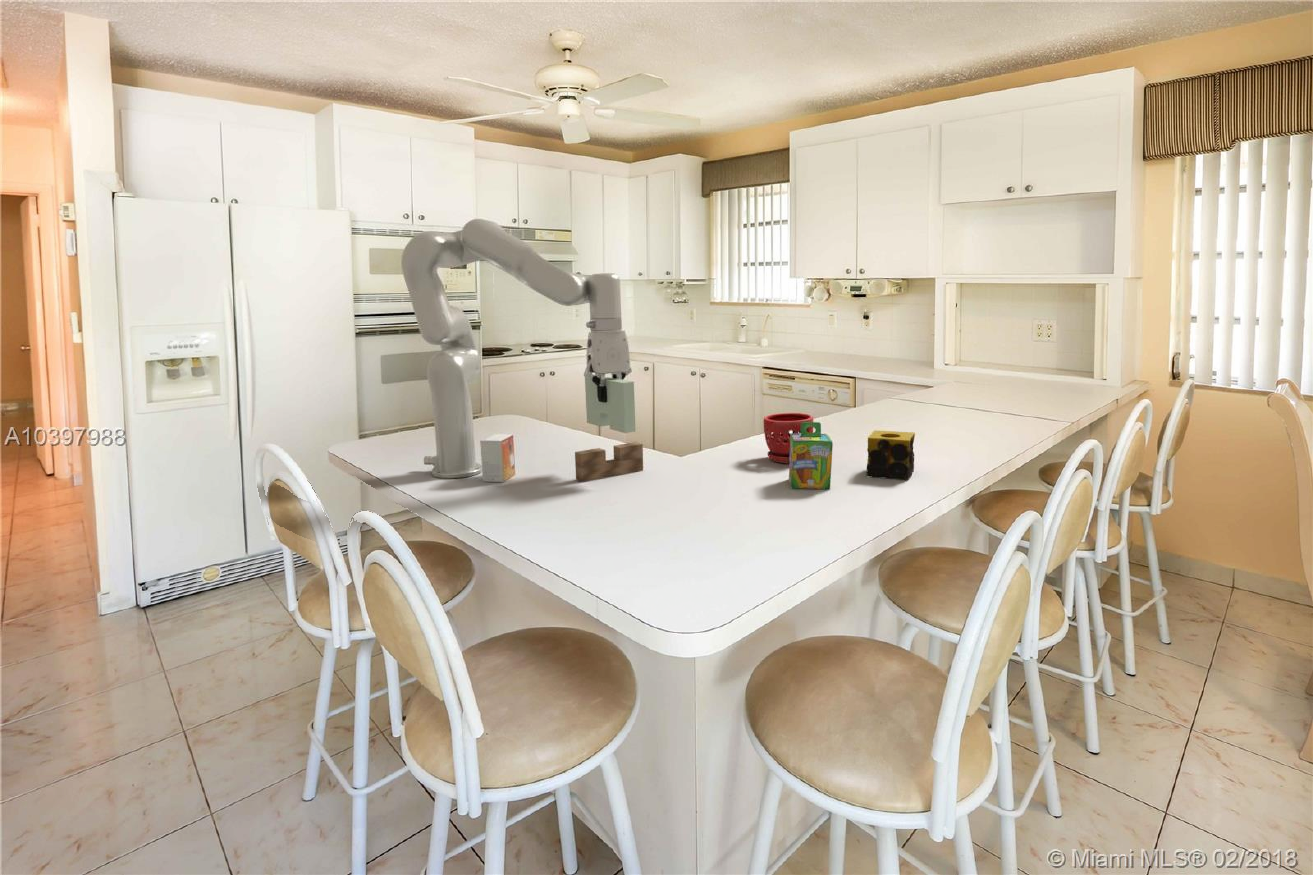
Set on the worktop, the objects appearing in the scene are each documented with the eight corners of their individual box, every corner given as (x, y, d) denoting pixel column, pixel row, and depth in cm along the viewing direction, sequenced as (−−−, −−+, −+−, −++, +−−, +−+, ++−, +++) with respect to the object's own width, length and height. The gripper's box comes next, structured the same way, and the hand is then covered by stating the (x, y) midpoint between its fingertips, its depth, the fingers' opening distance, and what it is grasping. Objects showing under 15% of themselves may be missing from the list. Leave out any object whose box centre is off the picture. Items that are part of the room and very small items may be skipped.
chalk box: (791, 489, 171) (792, 426, 168) (788, 479, 180) (789, 419, 177) (831, 490, 170) (834, 427, 167) (826, 479, 179) (828, 419, 176)
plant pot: (797, 452, 207) (798, 410, 204) (821, 463, 195) (823, 418, 192) (754, 456, 203) (755, 413, 200) (777, 467, 191) (778, 422, 188)
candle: (914, 471, 185) (916, 432, 183) (909, 481, 176) (911, 440, 174) (872, 467, 190) (874, 429, 188) (865, 477, 181) (867, 437, 179)
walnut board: (582, 482, 180) (581, 454, 178) (575, 479, 182) (574, 452, 181) (643, 470, 190) (642, 443, 188) (636, 468, 192) (636, 442, 191)
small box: (503, 483, 180) (501, 440, 178) (482, 482, 181) (479, 440, 179) (516, 474, 188) (513, 434, 186) (495, 473, 189) (493, 433, 187)
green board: (586, 422, 190) (584, 376, 187) (597, 421, 191) (594, 375, 189) (625, 433, 175) (623, 382, 173) (635, 431, 177) (633, 381, 174)
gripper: (584, 328, 171) (588, 406, 174) (642, 324, 180) (645, 399, 184) (568, 327, 177) (572, 403, 180) (626, 323, 186) (628, 395, 190)
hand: (609, 400), depth 182 cm, fingers closed on green board, 3 cm apart
